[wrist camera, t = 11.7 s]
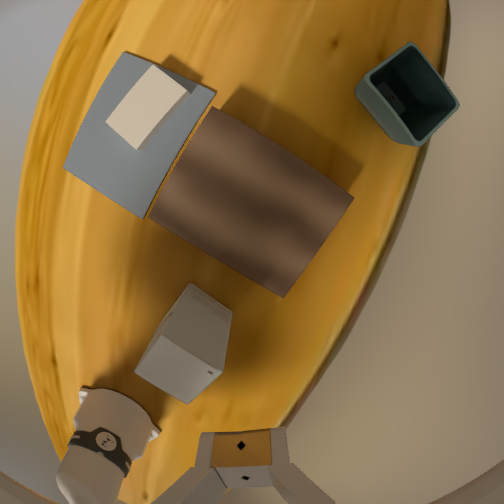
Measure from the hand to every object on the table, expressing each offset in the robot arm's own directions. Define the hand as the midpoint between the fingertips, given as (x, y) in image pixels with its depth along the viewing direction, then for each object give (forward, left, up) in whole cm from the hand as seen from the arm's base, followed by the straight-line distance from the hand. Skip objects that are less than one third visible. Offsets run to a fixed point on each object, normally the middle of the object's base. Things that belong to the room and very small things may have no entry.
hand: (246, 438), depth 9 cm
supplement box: (-13, +1, -28) cm, 31 cm away
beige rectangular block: (+7, +20, -25) cm, 33 cm away
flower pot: (+24, -4, -28) cm, 37 cm away
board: (+4, +3, -28) cm, 28 cm away
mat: (+4, +21, -28) cm, 35 cm away
